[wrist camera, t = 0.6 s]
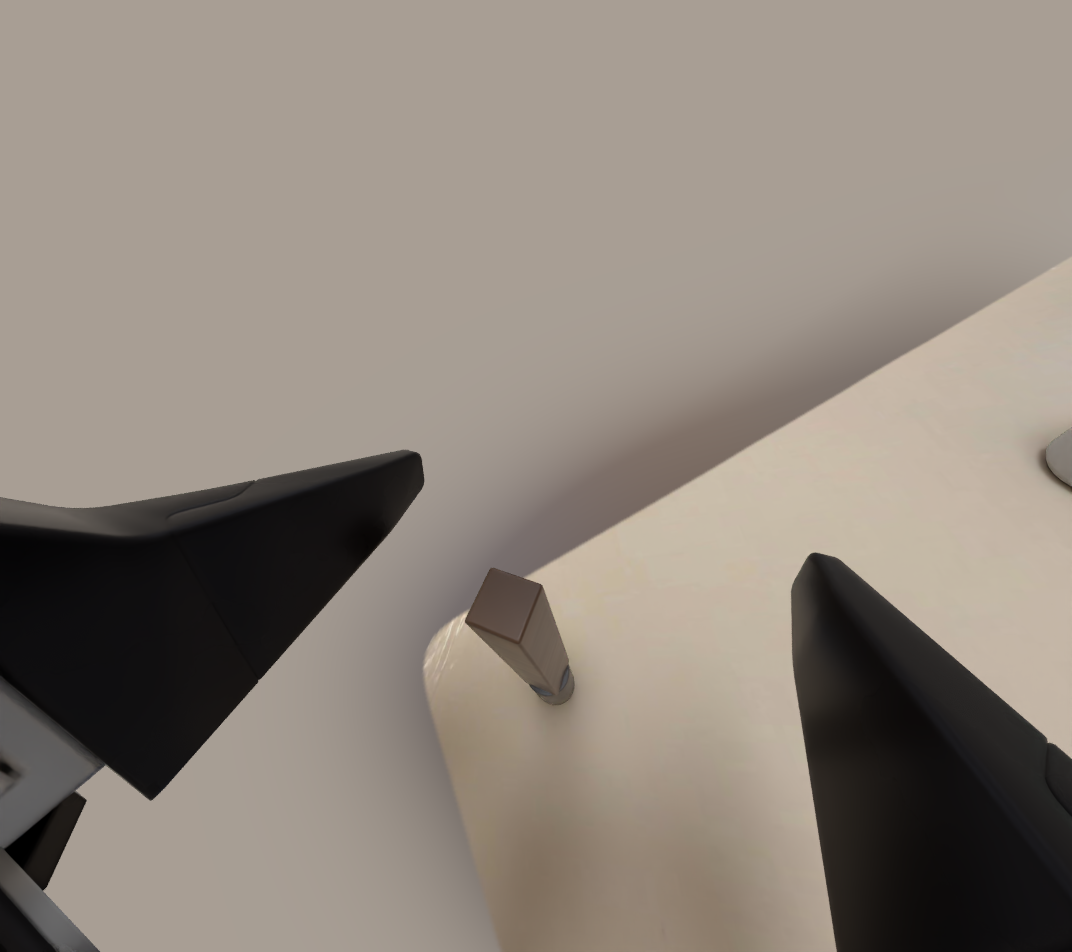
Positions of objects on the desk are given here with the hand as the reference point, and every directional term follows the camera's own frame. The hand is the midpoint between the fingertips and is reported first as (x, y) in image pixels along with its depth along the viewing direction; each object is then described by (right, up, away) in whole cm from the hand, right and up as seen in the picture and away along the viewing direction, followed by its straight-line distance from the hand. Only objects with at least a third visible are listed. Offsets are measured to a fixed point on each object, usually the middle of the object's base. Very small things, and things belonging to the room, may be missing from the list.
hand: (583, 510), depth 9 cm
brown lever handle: (0, -10, +11) cm, 15 cm away
